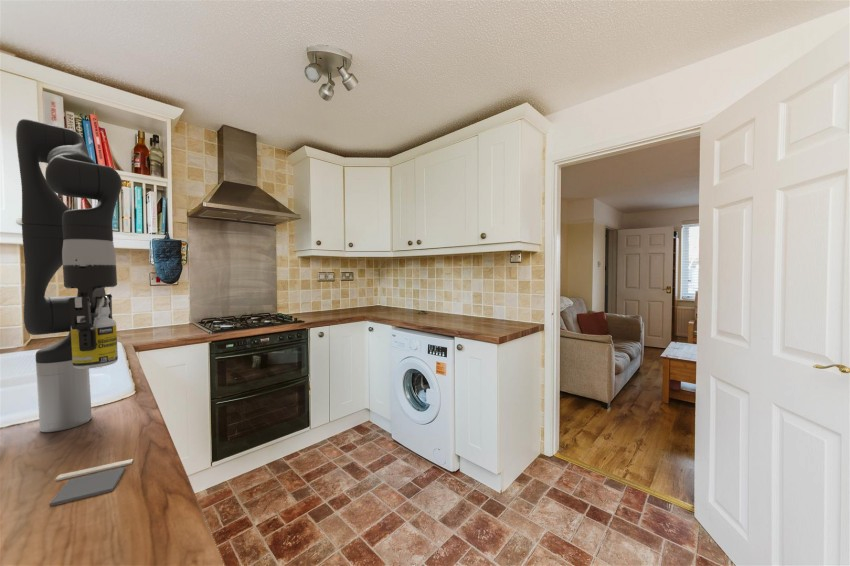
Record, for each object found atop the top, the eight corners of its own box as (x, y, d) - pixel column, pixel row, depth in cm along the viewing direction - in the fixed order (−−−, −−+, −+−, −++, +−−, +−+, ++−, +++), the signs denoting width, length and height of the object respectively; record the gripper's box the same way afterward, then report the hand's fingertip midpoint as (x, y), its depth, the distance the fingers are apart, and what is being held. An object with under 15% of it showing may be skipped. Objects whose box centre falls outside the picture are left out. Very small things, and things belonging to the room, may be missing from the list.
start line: (59, 476, 65) (59, 474, 65) (133, 460, 70) (133, 458, 70) (55, 481, 63) (55, 478, 63) (131, 464, 69) (131, 462, 69)
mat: (69, 481, 63) (69, 479, 63) (125, 469, 67) (125, 466, 67) (49, 506, 56) (49, 503, 56) (112, 490, 60) (112, 488, 60)
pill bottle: (90, 370, 63) (86, 309, 63) (63, 369, 65) (60, 309, 64) (126, 361, 70) (123, 305, 70) (102, 360, 71) (99, 306, 71)
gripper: (79, 265, 71) (83, 343, 72) (45, 262, 59) (51, 357, 59) (125, 264, 75) (129, 339, 75) (103, 262, 62) (107, 351, 63)
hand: (95, 346), depth 67 cm, fingers closed on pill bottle, 6 cm apart
